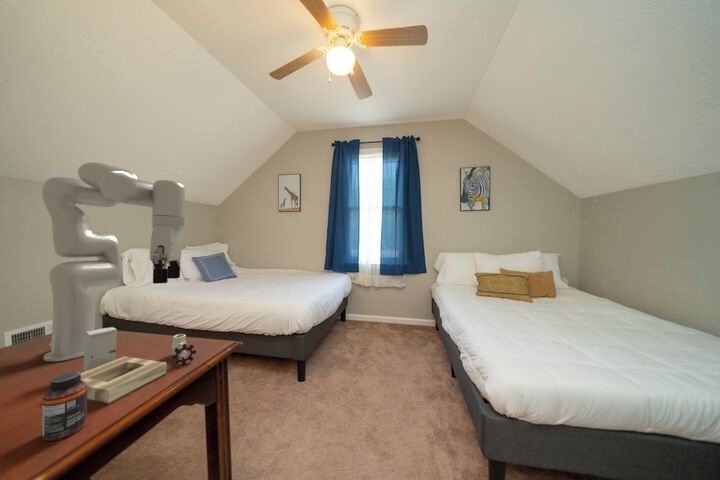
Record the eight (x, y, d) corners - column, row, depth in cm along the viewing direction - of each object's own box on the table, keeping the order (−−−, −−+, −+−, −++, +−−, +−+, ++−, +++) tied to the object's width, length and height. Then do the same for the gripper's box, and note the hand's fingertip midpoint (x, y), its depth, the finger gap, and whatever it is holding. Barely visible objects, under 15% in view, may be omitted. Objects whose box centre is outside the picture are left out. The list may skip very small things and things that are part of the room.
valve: (165, 355, 84) (170, 369, 75) (166, 336, 84) (171, 347, 76) (189, 350, 89) (196, 362, 80) (189, 331, 89) (196, 341, 80)
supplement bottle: (65, 421, 53) (67, 368, 53) (95, 420, 54) (96, 368, 54) (30, 443, 47) (32, 384, 47) (64, 442, 48) (66, 383, 48)
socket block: (60, 395, 62) (60, 381, 62) (124, 367, 75) (124, 356, 75) (108, 405, 58) (108, 390, 58) (166, 374, 72) (166, 362, 72)
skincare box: (86, 377, 70) (87, 335, 70) (82, 373, 72) (84, 331, 72) (116, 368, 75) (117, 328, 75) (111, 364, 77) (112, 326, 77)
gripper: (165, 224, 80) (164, 277, 79) (137, 220, 63) (136, 286, 63) (192, 225, 82) (191, 276, 82) (172, 221, 66) (171, 284, 66)
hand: (167, 280), depth 73 cm, fingers open, 9 cm apart
